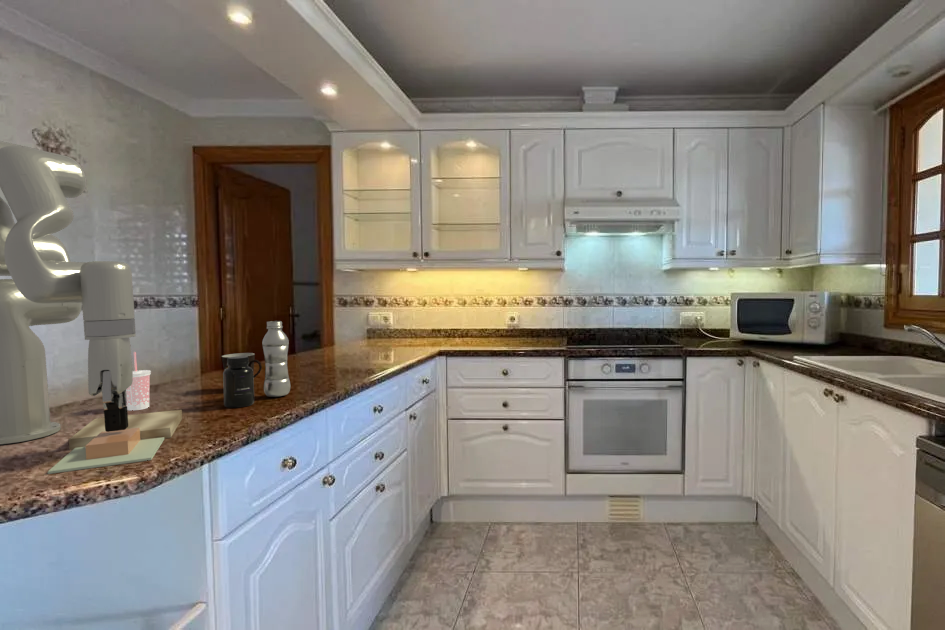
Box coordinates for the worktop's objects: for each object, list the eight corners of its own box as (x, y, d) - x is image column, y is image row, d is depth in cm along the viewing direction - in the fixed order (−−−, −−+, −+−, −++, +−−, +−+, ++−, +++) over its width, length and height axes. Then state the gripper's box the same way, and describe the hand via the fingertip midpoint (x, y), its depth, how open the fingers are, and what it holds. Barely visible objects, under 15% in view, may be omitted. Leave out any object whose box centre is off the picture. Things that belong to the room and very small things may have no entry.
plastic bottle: (265, 395, 135) (261, 321, 134) (291, 392, 137) (288, 320, 136) (262, 400, 129) (259, 322, 128) (290, 397, 131) (287, 321, 130)
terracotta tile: (86, 459, 84) (85, 445, 84) (102, 444, 92) (101, 431, 92) (128, 454, 86) (127, 440, 86) (140, 439, 95) (139, 427, 95)
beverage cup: (158, 404, 126) (154, 349, 125) (143, 410, 120) (139, 353, 119) (133, 405, 126) (129, 350, 125) (117, 411, 120) (113, 353, 119)
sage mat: (47, 474, 79) (47, 471, 79) (75, 450, 91) (75, 447, 91) (151, 460, 84) (151, 457, 84) (164, 439, 96) (164, 437, 96)
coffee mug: (219, 390, 143) (217, 355, 143) (249, 385, 149) (248, 352, 149) (233, 395, 135) (231, 359, 134) (265, 390, 141) (263, 355, 140)
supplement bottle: (242, 408, 120) (240, 359, 119) (218, 408, 121) (215, 359, 120) (260, 402, 126) (258, 355, 126) (236, 401, 128) (234, 355, 127)
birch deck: (69, 450, 91) (68, 439, 91) (95, 427, 106) (94, 418, 105) (170, 437, 97) (170, 427, 97) (182, 418, 112) (181, 409, 112)
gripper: (97, 328, 96) (103, 422, 97) (70, 334, 82) (78, 444, 83) (143, 326, 98) (149, 417, 100) (125, 331, 85) (132, 437, 86)
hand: (117, 429), depth 91 cm, fingers closed
